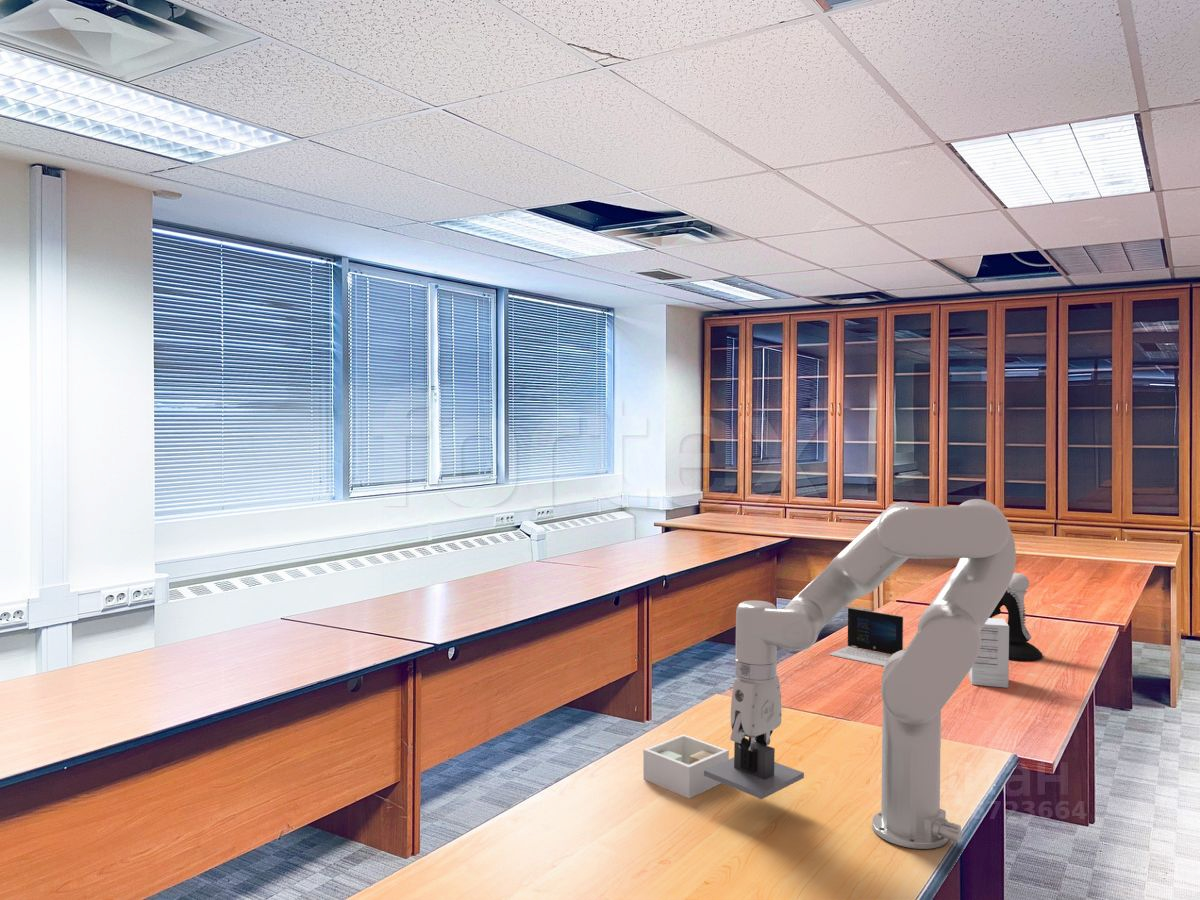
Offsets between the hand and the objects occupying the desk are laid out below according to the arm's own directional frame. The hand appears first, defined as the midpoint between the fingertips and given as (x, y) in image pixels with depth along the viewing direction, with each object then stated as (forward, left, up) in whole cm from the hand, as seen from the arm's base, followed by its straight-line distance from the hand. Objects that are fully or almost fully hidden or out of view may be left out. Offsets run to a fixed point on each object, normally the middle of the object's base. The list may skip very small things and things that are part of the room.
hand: (754, 766), depth 156 cm
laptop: (+38, -107, -8) cm, 113 cm away
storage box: (+17, 0, -8) cm, 18 cm away
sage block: (+19, +2, -7) cm, 21 cm away
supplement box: (+2, -108, -8) cm, 108 cm away
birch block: (+14, -3, -7) cm, 16 cm away
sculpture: (+12, -141, -8) cm, 142 cm away
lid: (0, 0, -2) cm, 2 cm away
